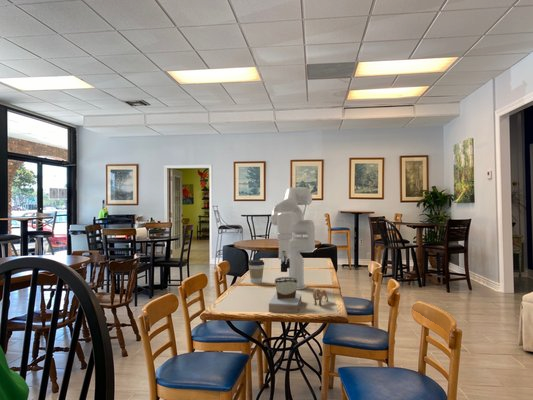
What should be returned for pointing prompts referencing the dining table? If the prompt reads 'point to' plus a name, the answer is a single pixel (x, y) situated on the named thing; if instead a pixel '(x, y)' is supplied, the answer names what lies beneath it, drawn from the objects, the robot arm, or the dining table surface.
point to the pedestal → (285, 304)
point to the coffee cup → (256, 270)
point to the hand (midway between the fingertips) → (285, 269)
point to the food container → (286, 287)
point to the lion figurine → (319, 295)
